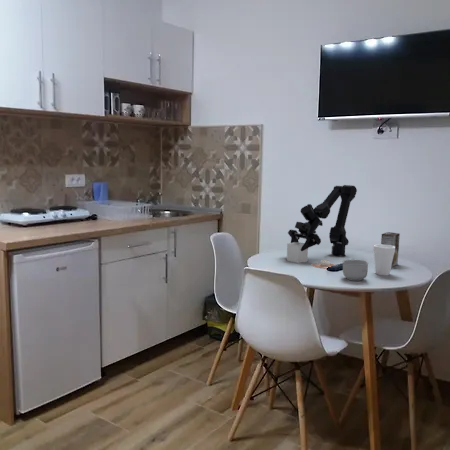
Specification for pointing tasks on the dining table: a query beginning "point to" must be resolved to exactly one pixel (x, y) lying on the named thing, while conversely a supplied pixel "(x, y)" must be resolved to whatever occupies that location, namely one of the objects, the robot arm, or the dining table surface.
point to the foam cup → (383, 258)
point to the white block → (296, 252)
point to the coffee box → (391, 240)
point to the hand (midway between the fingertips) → (295, 249)
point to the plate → (318, 265)
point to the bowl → (325, 263)
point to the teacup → (355, 269)
